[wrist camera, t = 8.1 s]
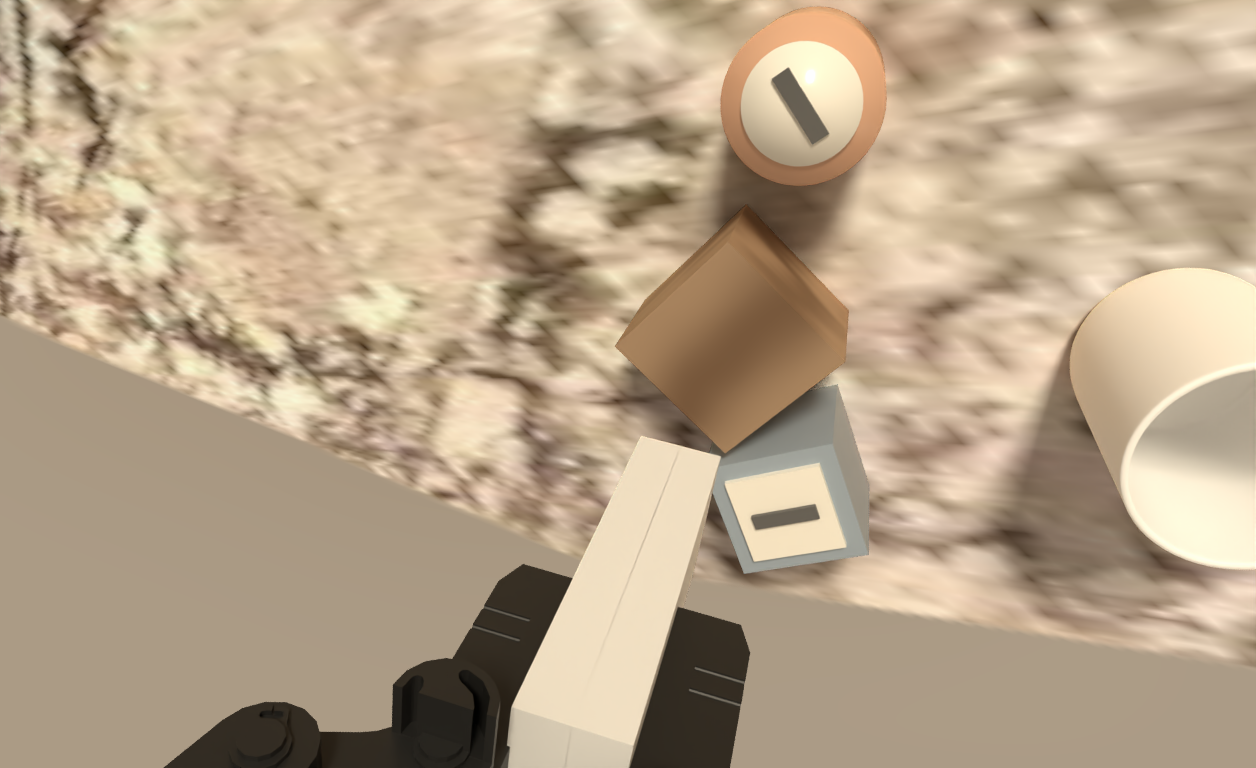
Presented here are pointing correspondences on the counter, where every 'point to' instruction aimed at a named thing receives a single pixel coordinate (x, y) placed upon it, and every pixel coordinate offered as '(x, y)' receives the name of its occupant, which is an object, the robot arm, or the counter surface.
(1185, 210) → the counter surface
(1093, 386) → the cup
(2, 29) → the counter surface
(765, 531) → the slate block
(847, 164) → the terracotta cylinder
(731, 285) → the walnut block
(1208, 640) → the counter surface
